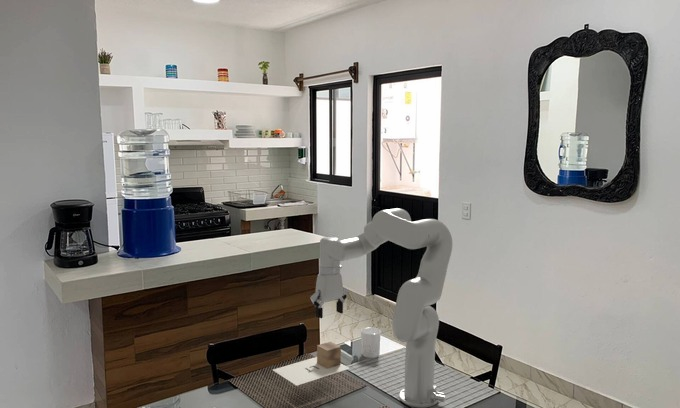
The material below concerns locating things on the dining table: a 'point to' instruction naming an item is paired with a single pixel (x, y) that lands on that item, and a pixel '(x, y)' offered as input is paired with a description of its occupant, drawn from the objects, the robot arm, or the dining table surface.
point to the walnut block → (328, 355)
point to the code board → (307, 371)
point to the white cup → (370, 342)
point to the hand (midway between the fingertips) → (329, 314)
